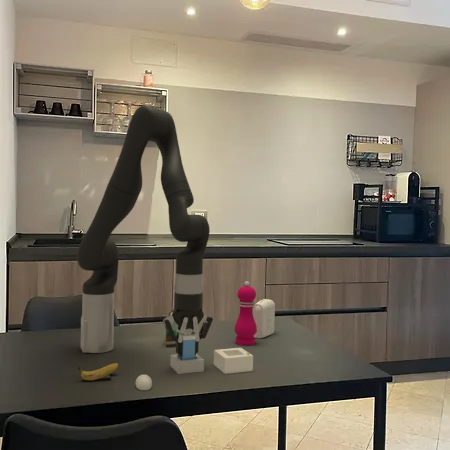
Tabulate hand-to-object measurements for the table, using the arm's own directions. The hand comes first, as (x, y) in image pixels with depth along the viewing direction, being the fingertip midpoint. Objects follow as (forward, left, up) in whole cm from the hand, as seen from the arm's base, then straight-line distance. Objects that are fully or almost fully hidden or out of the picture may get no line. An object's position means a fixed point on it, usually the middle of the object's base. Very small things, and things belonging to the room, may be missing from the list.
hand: (187, 354), depth 140 cm
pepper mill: (+27, +22, -5) cm, 35 cm away
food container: (+6, +28, -5) cm, 29 cm away
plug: (0, 0, -4) cm, 4 cm away
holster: (0, 0, -5) cm, 5 cm away
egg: (-14, -10, -5) cm, 18 cm away
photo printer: (+37, +29, -5) cm, 47 cm away
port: (+12, -3, -5) cm, 13 cm away
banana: (-23, +1, -5) cm, 24 cm away
